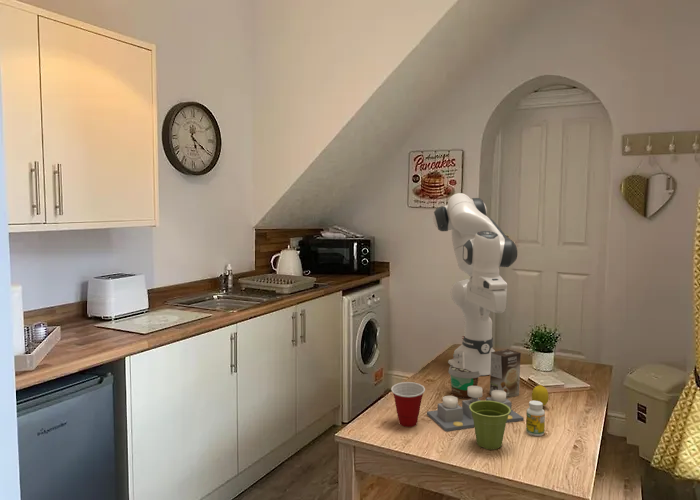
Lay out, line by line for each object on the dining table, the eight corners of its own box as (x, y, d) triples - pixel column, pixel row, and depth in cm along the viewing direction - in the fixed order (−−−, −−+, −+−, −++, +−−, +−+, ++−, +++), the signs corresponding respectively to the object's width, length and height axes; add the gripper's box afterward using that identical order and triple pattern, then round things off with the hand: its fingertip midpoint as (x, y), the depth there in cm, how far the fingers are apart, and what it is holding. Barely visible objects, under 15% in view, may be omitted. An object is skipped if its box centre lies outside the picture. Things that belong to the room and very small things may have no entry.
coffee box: (502, 400, 198) (503, 356, 197) (489, 394, 204) (490, 352, 202) (519, 395, 203) (521, 352, 201) (506, 390, 208) (507, 348, 207)
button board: (426, 414, 185) (426, 400, 185) (499, 404, 194) (500, 391, 193) (445, 431, 172) (446, 416, 172) (523, 420, 180) (523, 405, 180)
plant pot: (460, 440, 166) (461, 404, 165) (492, 433, 171) (493, 398, 170) (485, 457, 155) (486, 418, 154) (518, 449, 160) (519, 411, 159)
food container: (441, 393, 205) (441, 367, 204) (450, 389, 209) (451, 363, 208) (470, 402, 196) (470, 375, 195) (479, 398, 200) (480, 371, 199)
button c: (439, 415, 182) (440, 396, 181) (453, 413, 183) (453, 395, 182) (446, 421, 177) (446, 401, 177) (460, 419, 179) (460, 400, 178)
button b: (464, 405, 184) (464, 386, 183) (477, 403, 186) (477, 385, 185) (471, 410, 180) (472, 391, 179) (484, 408, 181) (485, 389, 180)
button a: (488, 409, 187) (488, 390, 186) (500, 407, 188) (501, 389, 188) (495, 414, 182) (496, 395, 182) (508, 412, 184) (509, 394, 183)
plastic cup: (386, 427, 175) (386, 390, 174) (397, 414, 185) (397, 380, 184) (418, 433, 171) (419, 395, 170) (428, 420, 181) (429, 384, 180)
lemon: (549, 411, 188) (550, 388, 187) (532, 409, 189) (533, 387, 189) (546, 404, 194) (547, 382, 193) (530, 403, 195) (531, 381, 194)
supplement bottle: (547, 433, 171) (548, 403, 170) (537, 438, 167) (538, 407, 166) (532, 427, 175) (533, 398, 174) (522, 432, 172) (523, 402, 171)
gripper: (462, 275, 195) (460, 313, 197) (493, 285, 176) (491, 328, 177) (478, 274, 197) (476, 312, 199) (510, 285, 177) (508, 326, 179)
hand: (484, 319), depth 188 cm, fingers closed
